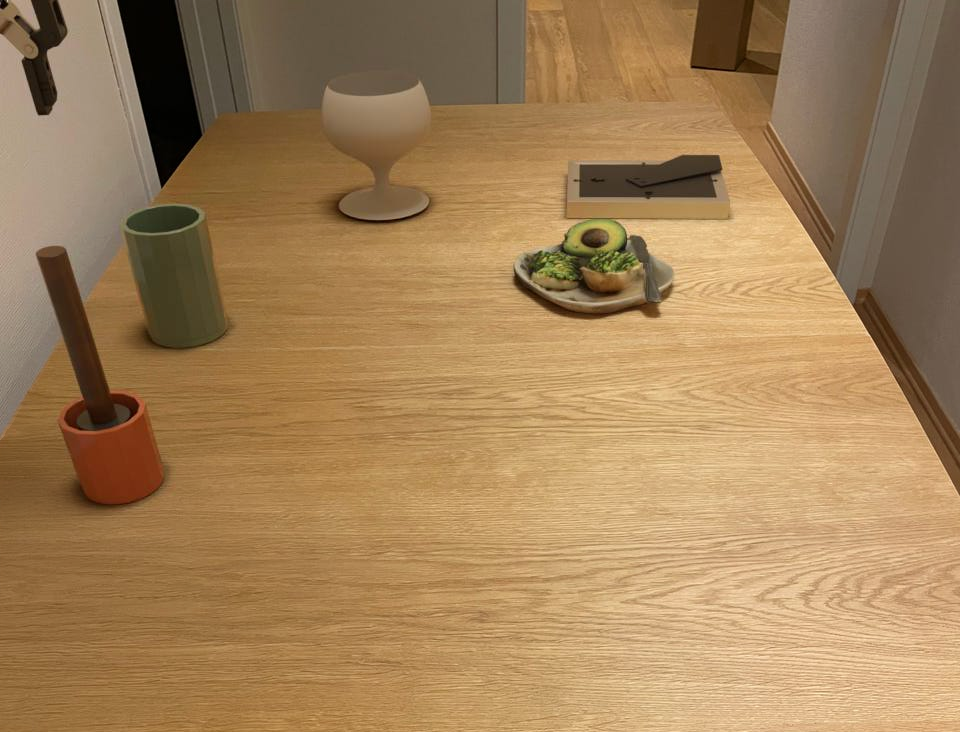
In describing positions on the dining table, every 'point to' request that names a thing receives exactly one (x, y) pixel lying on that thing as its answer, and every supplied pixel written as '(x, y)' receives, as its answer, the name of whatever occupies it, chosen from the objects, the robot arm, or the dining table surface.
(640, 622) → the dining table surface
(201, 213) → the sage green cup
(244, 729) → the dining table surface
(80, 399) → the pot
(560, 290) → the avocado toast plate
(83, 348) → the brush
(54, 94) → the robot arm
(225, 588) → the dining table surface
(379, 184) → the chalice
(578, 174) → the picture frame
